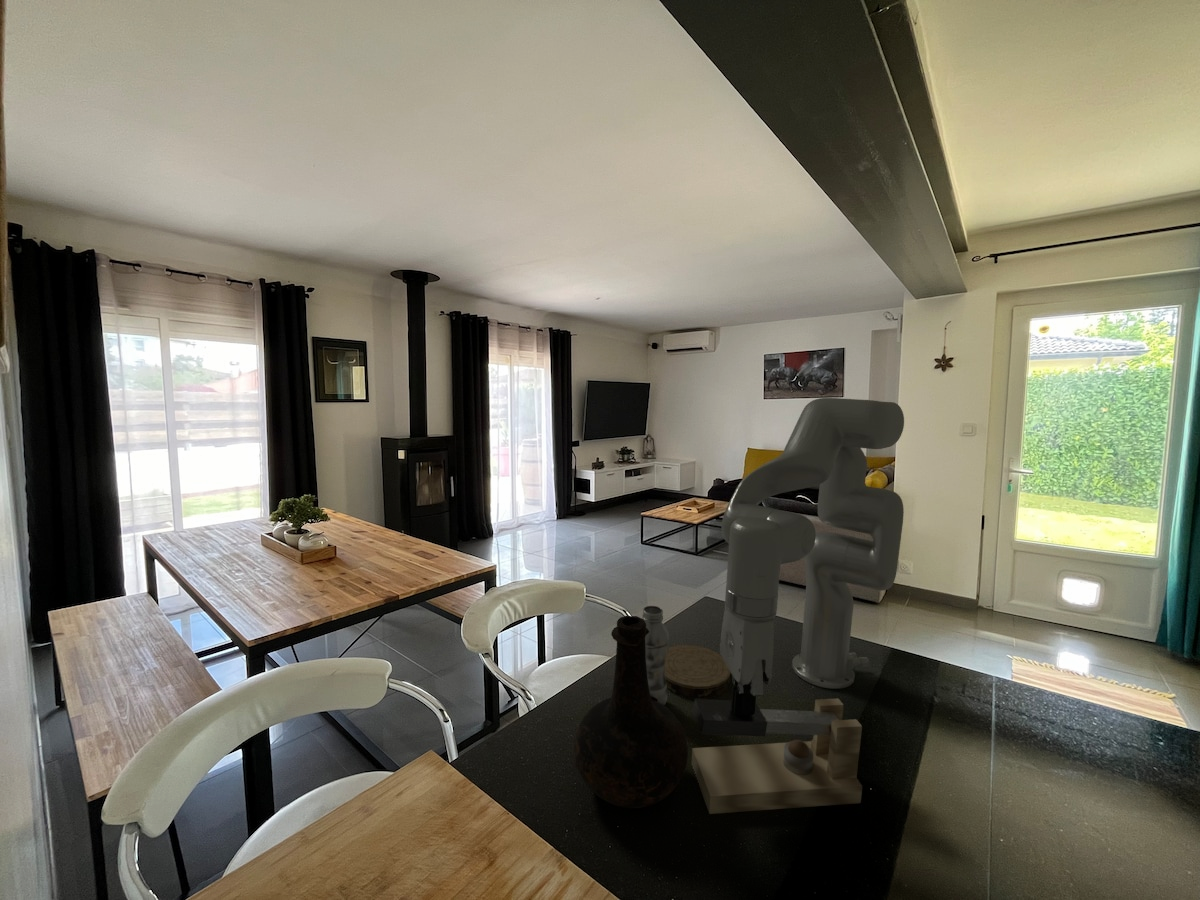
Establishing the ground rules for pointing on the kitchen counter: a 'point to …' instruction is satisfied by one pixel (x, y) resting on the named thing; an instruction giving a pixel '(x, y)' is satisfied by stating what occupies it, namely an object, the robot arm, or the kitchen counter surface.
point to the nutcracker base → (783, 770)
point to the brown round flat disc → (695, 672)
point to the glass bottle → (631, 732)
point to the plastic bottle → (656, 652)
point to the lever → (760, 720)
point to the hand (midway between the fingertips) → (742, 711)
